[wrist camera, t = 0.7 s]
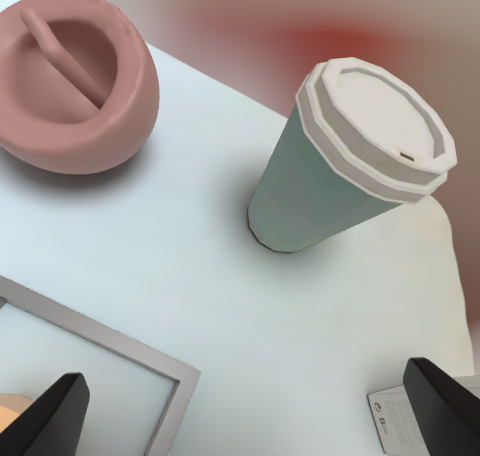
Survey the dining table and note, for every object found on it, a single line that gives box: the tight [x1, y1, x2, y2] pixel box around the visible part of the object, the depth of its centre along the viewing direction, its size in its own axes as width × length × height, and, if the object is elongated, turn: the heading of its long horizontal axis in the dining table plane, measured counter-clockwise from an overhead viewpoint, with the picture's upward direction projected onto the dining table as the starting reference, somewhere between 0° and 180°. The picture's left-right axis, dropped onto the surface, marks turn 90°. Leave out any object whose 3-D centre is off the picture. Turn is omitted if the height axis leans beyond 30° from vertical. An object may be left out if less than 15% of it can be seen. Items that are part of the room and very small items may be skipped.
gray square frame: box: [0, 275, 201, 456], centre depth 17 cm, size 14×14×2 cm
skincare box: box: [368, 375, 480, 456], centre depth 21 cm, size 6×4×12 cm
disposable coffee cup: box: [248, 57, 457, 252], centre depth 24 cm, size 11×11×15 cm
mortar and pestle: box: [0, 0, 159, 175], centre depth 22 cm, size 12×12×12 cm
